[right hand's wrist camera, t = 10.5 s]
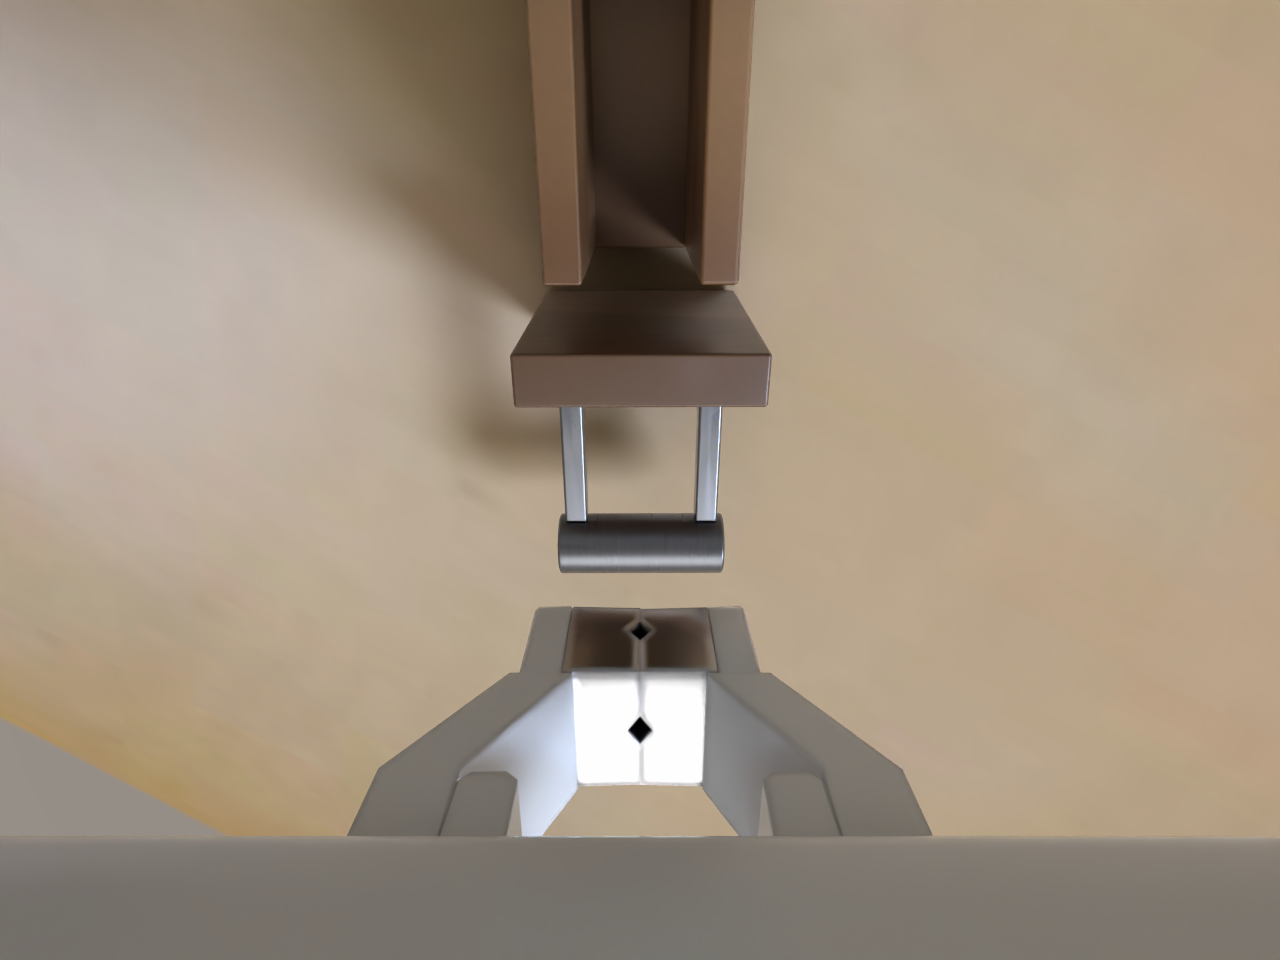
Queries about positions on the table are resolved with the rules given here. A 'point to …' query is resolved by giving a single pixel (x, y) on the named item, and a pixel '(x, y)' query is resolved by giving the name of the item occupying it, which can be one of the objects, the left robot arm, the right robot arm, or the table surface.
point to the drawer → (634, 218)
